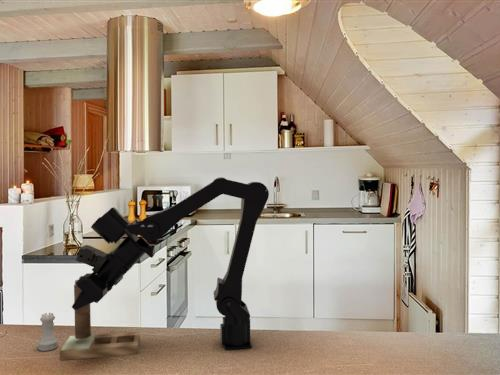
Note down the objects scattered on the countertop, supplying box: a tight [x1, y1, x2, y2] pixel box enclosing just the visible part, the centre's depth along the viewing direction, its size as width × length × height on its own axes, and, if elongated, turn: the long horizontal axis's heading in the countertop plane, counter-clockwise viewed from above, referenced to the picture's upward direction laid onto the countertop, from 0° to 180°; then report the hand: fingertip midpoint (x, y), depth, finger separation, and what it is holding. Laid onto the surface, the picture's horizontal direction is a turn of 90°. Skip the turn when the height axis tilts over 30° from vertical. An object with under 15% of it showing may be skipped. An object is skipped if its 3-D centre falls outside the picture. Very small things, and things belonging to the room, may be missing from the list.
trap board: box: [59, 331, 141, 361], centre depth 99 cm, size 16×9×2 cm, turn 101°
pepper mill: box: [73, 275, 92, 339], centre depth 98 cm, size 3×3×14 cm
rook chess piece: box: [37, 312, 59, 352], centre depth 100 cm, size 4×4×8 cm
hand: (76, 306), depth 98 cm, fingers closed on pepper mill, 3 cm apart
